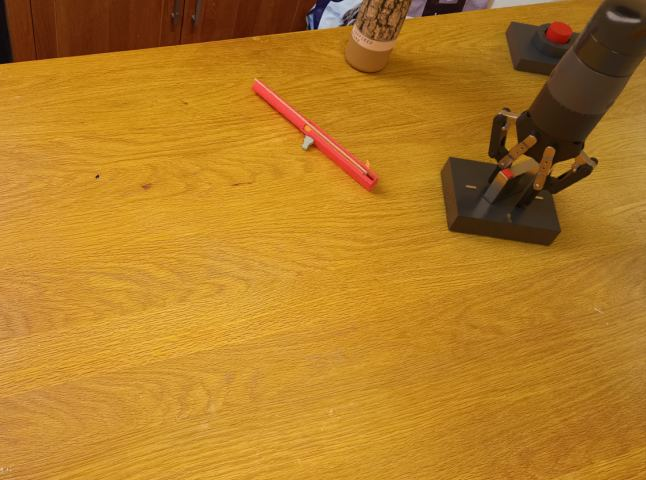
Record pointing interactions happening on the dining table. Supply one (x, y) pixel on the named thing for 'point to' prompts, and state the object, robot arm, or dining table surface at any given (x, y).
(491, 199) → the dial knob
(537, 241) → the panel
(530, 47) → the button box
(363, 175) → the red grooved bar
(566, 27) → the button
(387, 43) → the paper tube
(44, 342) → the dining table surface
